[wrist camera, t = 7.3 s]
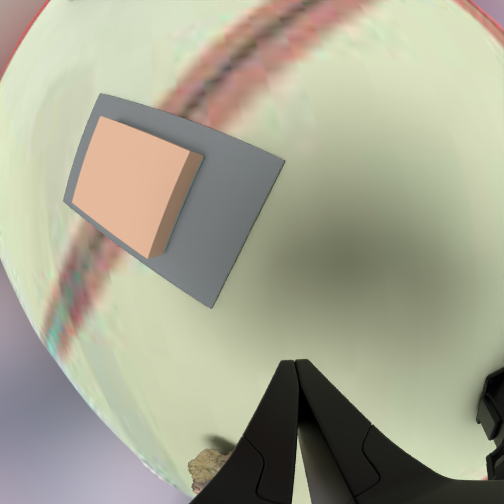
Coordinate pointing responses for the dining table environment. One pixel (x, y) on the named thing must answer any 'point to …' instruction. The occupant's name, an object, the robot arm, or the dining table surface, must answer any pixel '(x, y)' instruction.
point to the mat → (194, 196)
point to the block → (135, 184)
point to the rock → (206, 467)
